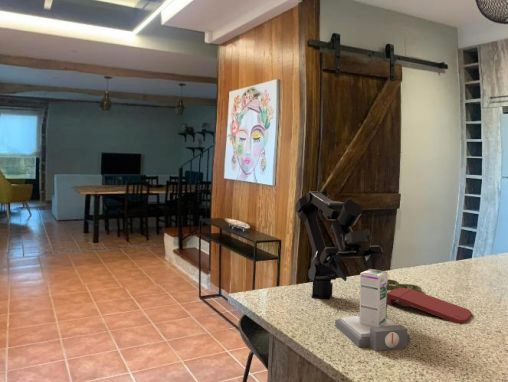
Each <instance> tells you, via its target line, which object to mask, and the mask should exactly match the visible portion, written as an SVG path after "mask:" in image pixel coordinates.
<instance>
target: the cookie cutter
mask: <svg viewBox="0 0 508 382" xmlns="http://www.w3.org/2000/svg"><path fill="white" fill-rule="evenodd" d="M395 288H396V289H398V288H405V289H412V290H415V291H418V292H421V293H423V291H422V290H423V288H422V287H421V286H419V285H415V284H409V283H400V282H399V281H397V280H393V279H388V283H387V290H393V289H395Z"/></svg>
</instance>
